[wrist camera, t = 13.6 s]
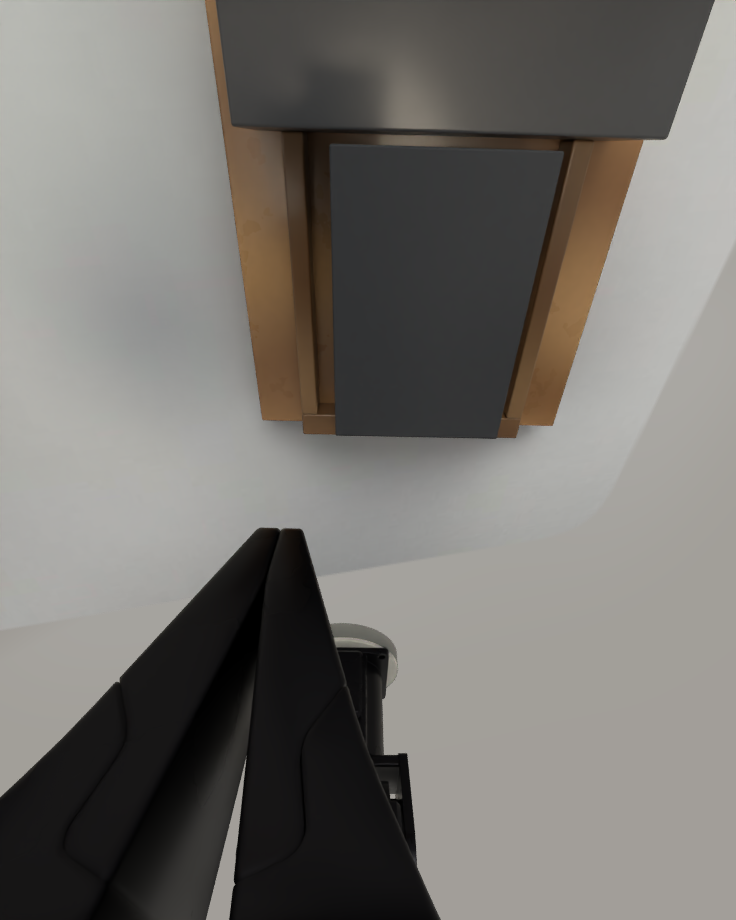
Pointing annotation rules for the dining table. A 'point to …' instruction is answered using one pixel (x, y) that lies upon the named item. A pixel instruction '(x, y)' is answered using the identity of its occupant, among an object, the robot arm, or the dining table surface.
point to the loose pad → (432, 283)
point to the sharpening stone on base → (434, 125)
